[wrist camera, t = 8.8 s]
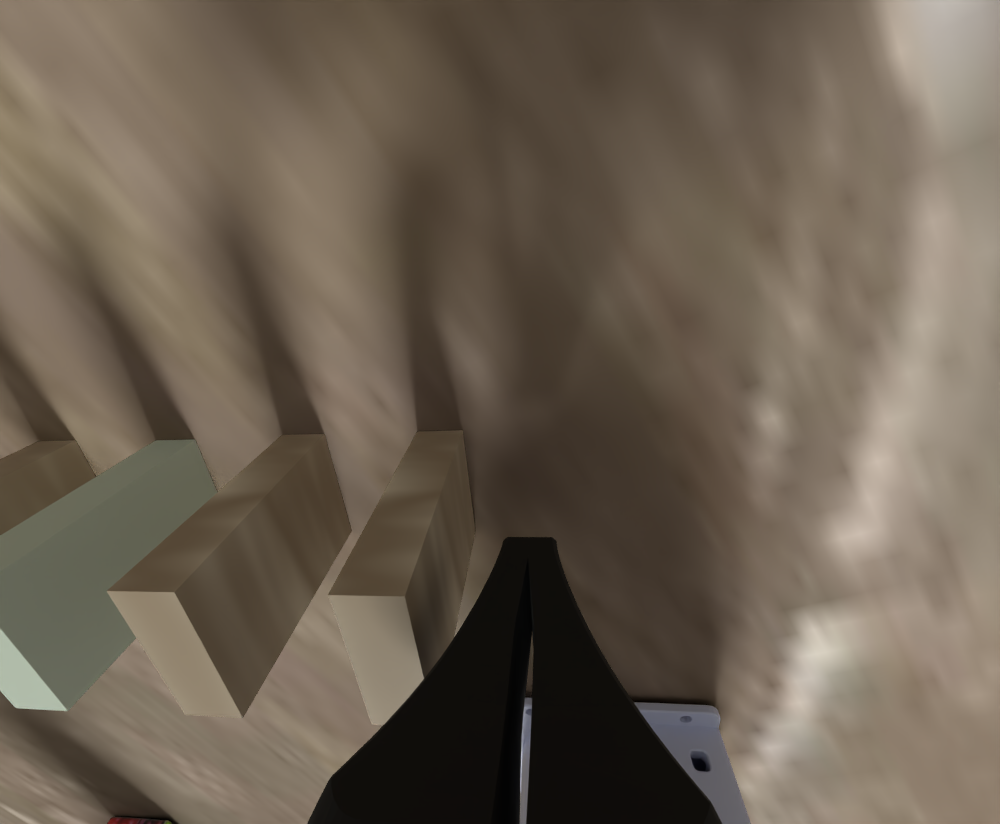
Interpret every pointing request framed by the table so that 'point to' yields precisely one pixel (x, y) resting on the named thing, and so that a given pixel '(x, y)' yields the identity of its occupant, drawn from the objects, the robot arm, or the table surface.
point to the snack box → (136, 821)
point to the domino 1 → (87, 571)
